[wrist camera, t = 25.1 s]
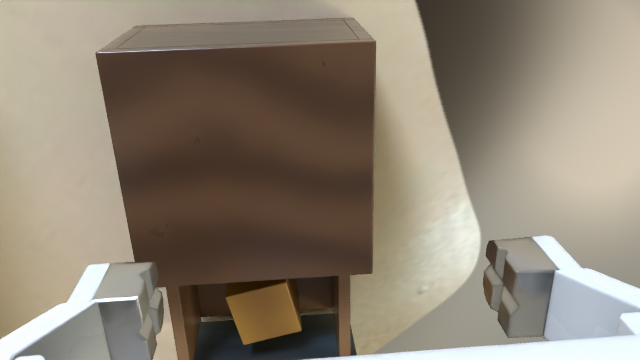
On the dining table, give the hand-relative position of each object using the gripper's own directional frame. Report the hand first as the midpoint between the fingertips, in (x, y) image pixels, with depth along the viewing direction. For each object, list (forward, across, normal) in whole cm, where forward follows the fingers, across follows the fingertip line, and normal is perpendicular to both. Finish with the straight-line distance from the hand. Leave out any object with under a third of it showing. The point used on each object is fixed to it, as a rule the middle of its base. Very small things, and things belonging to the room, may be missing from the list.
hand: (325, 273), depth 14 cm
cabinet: (+27, +3, +5) cm, 28 cm away
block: (+25, +3, +17) cm, 30 cm away
